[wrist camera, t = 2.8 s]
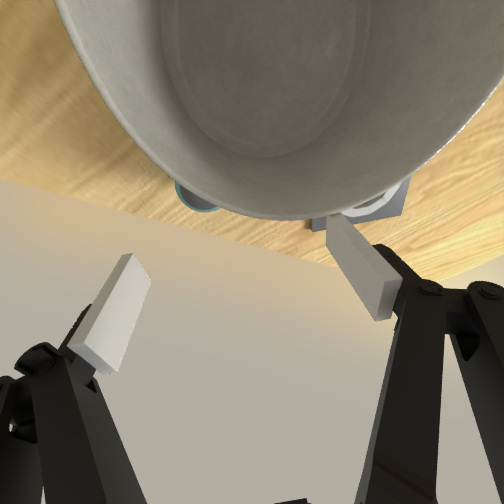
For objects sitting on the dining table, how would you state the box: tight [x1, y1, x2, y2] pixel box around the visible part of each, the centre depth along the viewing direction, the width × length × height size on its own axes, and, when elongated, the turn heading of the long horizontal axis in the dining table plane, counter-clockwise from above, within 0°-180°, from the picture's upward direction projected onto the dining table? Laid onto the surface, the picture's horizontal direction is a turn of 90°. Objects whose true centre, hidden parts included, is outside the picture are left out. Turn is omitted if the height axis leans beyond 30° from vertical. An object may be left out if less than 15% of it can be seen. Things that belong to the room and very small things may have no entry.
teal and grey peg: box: [175, 181, 221, 212], centre depth 25 cm, size 6×6×9 cm
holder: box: [311, 176, 411, 232], centre depth 31 cm, size 14×14×2 cm
